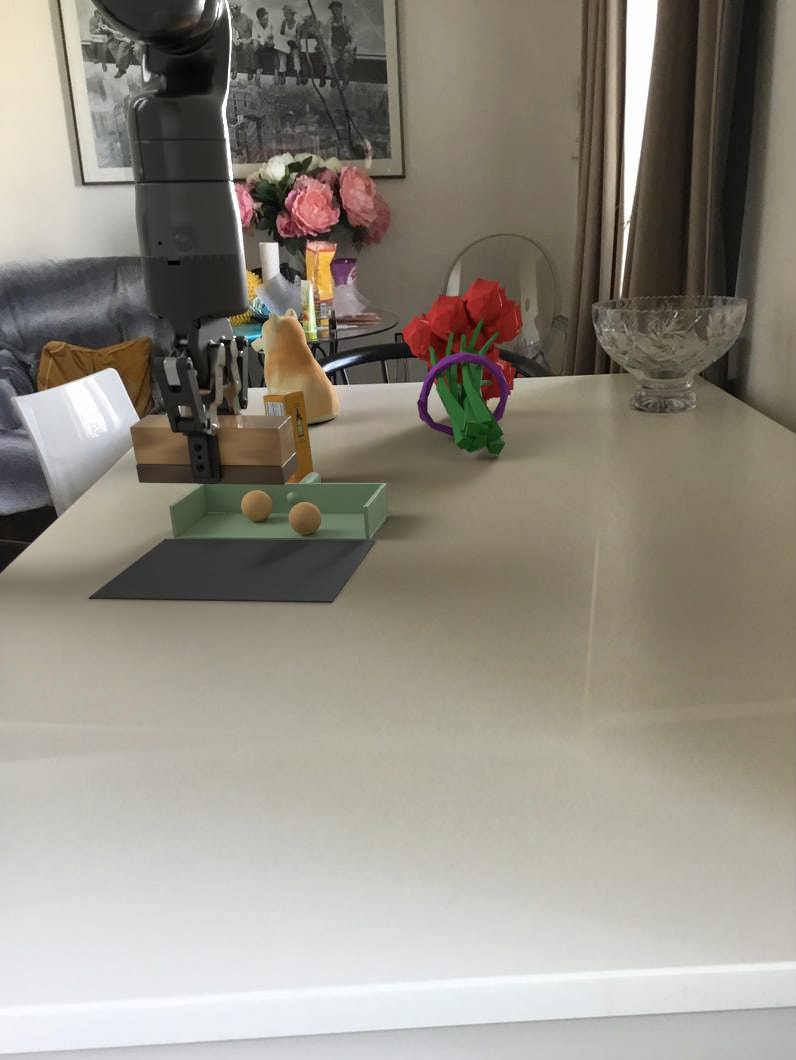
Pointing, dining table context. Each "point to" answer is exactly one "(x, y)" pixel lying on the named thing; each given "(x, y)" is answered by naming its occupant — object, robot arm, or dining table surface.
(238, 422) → the brush
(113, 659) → the dining table surface
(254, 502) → the ball
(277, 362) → the figurine
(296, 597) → the mat
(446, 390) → the bouquet
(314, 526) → the ball
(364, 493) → the dustpan
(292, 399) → the supplement box
